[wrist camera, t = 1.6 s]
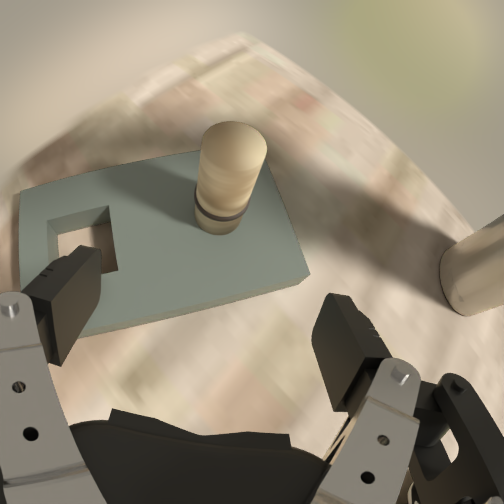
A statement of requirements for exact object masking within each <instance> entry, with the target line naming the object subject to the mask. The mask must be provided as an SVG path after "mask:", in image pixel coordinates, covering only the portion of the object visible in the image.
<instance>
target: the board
mask: <svg viewBox="0 0 504 504" xmlns="http://www.w3.org/2000/svg"><path fill="white" fill-rule="evenodd" d="M200 153H201V150H199V151H193V152H186V153H180V154H174V155H169V156H163V157H157V158H152V159H147V160H142V161H137V162H132V163H127V164H122V165H118V166H113V167H109V168H104V169H100V170H96V171H92V172H87V173H83V174H79V175H76V176H72V177H68V178H64V179H60V180H57V181H53V182H50V183H46V184H43V185H39V186H36V187H32V188H29V189H26V190H23V191H20V206H19V271H20V287H21V291H22V290H23V289H24V288H25V287H26V286H27V285H28V284H29V283H30V282H31V281H32V280H33V279H34V278H35V277H36V276H37V275H39V273H40V272H41V271H43V270H44V269H45V268H46V267H47V266H48V265H49V264H50V263H51V262H52V261H53V260H56V259H58V258H59V252H58V237H57V235H58V234H62V233H66V232H70V231H74V230H78V229H82V228H86V227H90V226H95V225H99V224H103V223H107V222H111V226H112V233H113V240H114V247H115V253H116V259H117V265H118V271H114V272H110V273H105V274H101V295H100V300H99V303H98V305H97V307H96V309H95V310H94V312H93V314H92V315H91V317H90V318H89V320H88V322H87V323H86V325H85V327H84V328H83V330H82V331H81V333H80V335H79V336H78V338H83V337H88V336H93V335H97V334H102V333H107V332H111V331H116V330H120V329H125V328H129V327H134V326H138V325H142V324H147V323H151V322H155V321H160V320H164V319H168V318H172V317H176V316H180V315H185V314H189V313H193V312H197V311H201V310H205V309H209V308H213V307H216V306H220V305H224V304H228V303H232V302H236V301H239V300H243V299H247V298H251V297H254V296H258V295H262V294H265V293H269V292H273V291H276V290H280V289H284V288H287V287H291V286H294V285H298V284H299V283H301V282H302V281H303V280H304V279H305V278H307V277H308V276H309V275H310V272H309V269H308V266H307V264H306V261H305V258H304V256H303V253H302V250H301V248H300V245H299V242H298V240H297V237H296V235H295V232H294V229H293V227H292V224H291V222H290V219H289V217H288V214H287V211H286V209H285V206H284V204H283V201H282V199H281V196H280V194H279V191H278V189H277V186H276V184H275V181H274V179H273V177H272V174H271V172H270V169H269V167H268V164H267V162H266V160H265V159H264V161H263V164H262V166H261V169H260V172H259V174H258V177H257V180H256V182H255V185H254V187H253V190H252V193H251V200H250V203H249V206H248V208H247V210H246V212H245V213H244V214H243V216H242V219H241V222H240V224H239V226H238V227H237V228H236V229H235V230H234V231H233V232H231V233H229V234H226V235H212V234H209V233H207V232H205V231H204V230H202V229H201V228H200V227H199V225H198V224H197V222H196V220H195V216H194V212H195V201H194V191H195V186H196V184H197V180H198V171H199V162H200ZM78 338H77V339H78Z"/></svg>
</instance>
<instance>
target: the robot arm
mask: <svg viewBox="0 0 504 504" xmlns="http://www.w3.org/2000/svg"><path fill="white" fill-rule="evenodd" d="M101 260H102V255H101V250H100V249H96V248H92V247H87V246H83V245H80V246H78V247H77V248H76V249H75V250H74V251H73V252H72V253H71V254H70V255H69V256H63V257H60V258H58V259H56V260H53V261H52V262H51V263H50V264H49V265H48V266H47V267H46V268H45V269H44V270H43V271H41V272H40V273H39V275H37V276H36V277H35V278H34V279H33V280H32V281H31V282H30V283H29V284H28V285H27V286H26V287H25V288H24V289H23V290H22V291H21V292H4V293H1V294H0V504H396V501H397V498H398V496H399V493H400V490H401V487H402V484H403V481H404V478H405V475H406V472H407V468H408V467H409V470H410V473H411V475H412V478H413V481H414V484H415V487H416V490H417V493H418V496H419V499H420V502H421V504H504V437H503V435H502V433H501V432H500V430H499V428H498V427H497V425H496V423H495V422H494V420H493V418H492V417H491V415H490V413H489V412H488V410H487V409H486V407H485V405H484V404H483V402H482V401H481V399H480V398H479V396H478V394H477V393H476V391H475V390H474V388H473V387H472V385H471V384H470V383H469V382H468V381H467V380H466V379H464V378H463V377H461V376H459V375H457V374H453V373H447V374H444V375H443V376H442V378H441V379H440V381H439V382H438V384H433V383H429V382H425V381H421V377H420V374H419V373H418V371H417V370H416V369H415V368H414V367H413V366H412V365H411V364H409V363H408V362H406V361H404V360H401V359H398V358H393V357H392V355H391V354H390V352H389V350H388V349H387V347H386V345H385V344H384V342H383V340H382V339H381V337H379V334H378V332H377V331H376V330H375V327H374V326H373V324H372V323H371V321H370V319H369V318H367V317H366V316H365V315H364V314H363V313H362V312H361V311H358V309H357V307H356V306H355V304H354V302H353V301H352V299H351V298H350V296H346V295H340V294H334V293H329V294H328V295H327V296H326V298H325V300H324V302H323V305H322V308H321V310H320V313H319V315H318V318H317V320H316V323H315V326H314V328H313V332H312V346H313V349H314V352H315V355H316V358H317V362H318V365H319V368H320V371H321V374H322V377H323V380H324V383H325V386H326V389H327V392H328V395H329V399H330V402H331V405H332V408H333V411H334V412H348V415H349V416H348V417H347V419H346V420H345V422H344V423H343V425H342V427H341V429H340V430H339V432H338V434H337V435H336V437H335V439H334V440H333V442H332V444H331V445H330V447H329V449H328V450H327V452H326V454H325V455H324V457H323V458H322V459H321V458H319V457H317V456H315V455H313V454H311V453H309V452H307V451H304V450H301V449H298V448H295V447H291V443H290V437H289V434H275V433H259V432H239V433H229V434H219V435H206V436H202V435H197V434H194V433H191V432H188V431H186V430H183V429H180V428H178V427H175V426H173V425H170V424H168V423H165V422H163V421H160V420H158V419H156V418H151V417H146V416H142V415H137V414H133V413H129V412H125V411H121V410H117V409H113V408H112V411H111V414H110V417H109V420H93V421H86V422H80V423H77V424H73V425H70V426H68V423H67V421H66V418H65V416H64V413H63V410H62V408H61V405H60V402H59V399H58V396H57V393H56V390H55V387H54V384H53V381H52V378H51V375H50V371H49V368H48V363H51V364H54V365H57V366H60V367H61V366H62V364H63V362H64V361H65V359H66V357H67V355H68V354H69V352H70V350H71V348H72V347H73V345H74V343H75V342H76V340H77V338H78V336H79V335H80V333H81V331H82V330H83V328H84V327H85V325H86V323H87V322H88V320H89V318H90V317H91V315H92V314H93V312H94V310H95V309H96V307H97V305H98V303H99V300H100V295H101ZM440 279H441V285H442V288H443V291H444V294H445V296H446V298H447V300H448V302H449V303H450V305H451V306H452V307H453V308H454V310H455V311H457V312H458V313H459V314H461V315H464V316H472V315H475V314H478V313H481V312H484V311H487V310H490V309H492V308H496V307H498V306H501V305H504V214H503V215H502V216H500V217H498V218H497V219H495V220H494V221H493V222H491V223H489V224H488V225H486V226H485V227H483V228H481V229H480V230H478V231H477V232H475V233H474V234H472V235H470V236H468V237H467V238H465V239H464V240H462V241H460V242H459V243H457V244H455V245H454V246H452V247H451V248H449V249H448V250H446V251H445V253H444V254H443V256H442V259H441V262H440ZM449 429H451V431H452V433H453V435H454V437H455V439H456V441H457V443H458V446H459V452H458V456H457V458H456V459H455V460H454V461H453V462H452V463H451V462H450V460H449V457H448V455H447V453H446V451H445V448H444V446H443V444H442V442H441V440H440V439H441V438H442V437H443V436H444V435H445V434H446V432H447V431H448V430H449Z"/></svg>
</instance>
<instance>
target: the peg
mask: <svg viewBox="0 0 504 504" xmlns="http://www.w3.org/2000/svg"><path fill="white" fill-rule="evenodd" d="M266 153H267V145H266V142H265V140H264V138H263V136H262V135H261V134H260V133H259V132H258V131H257V130H256V129H254V128H253V127H251V126H249V125H247V124H244V123H240V122H234V121H227V122H221V123H218V124H215V125H213V126H212V127H210V128H209V129H208V130H207V131H206V132H205V134H204V135H203V138H202V144H201V153H200V162H199V171H198V180H197V184H196V186H195V191H194V201H195V212H194V216H195V220H196V222H197V224H198V225H199V227H200V228H201V229H202V230H204V231H205V232H207V233H209V234H212V235H226V234H229V233H231V232H233V231H234V230H235V229H236V228H237V227H238V226H239V224H240V222H241V219H242V216H243V214H244V213H245V212H246V210H247V208H248V206H249V203H250V200H251V193H252V190H253V187H254V185H255V182H256V180H257V177H258V174H259V172H260V169H261V166H262V164H263V161H264V159H265V156H266Z"/></svg>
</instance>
